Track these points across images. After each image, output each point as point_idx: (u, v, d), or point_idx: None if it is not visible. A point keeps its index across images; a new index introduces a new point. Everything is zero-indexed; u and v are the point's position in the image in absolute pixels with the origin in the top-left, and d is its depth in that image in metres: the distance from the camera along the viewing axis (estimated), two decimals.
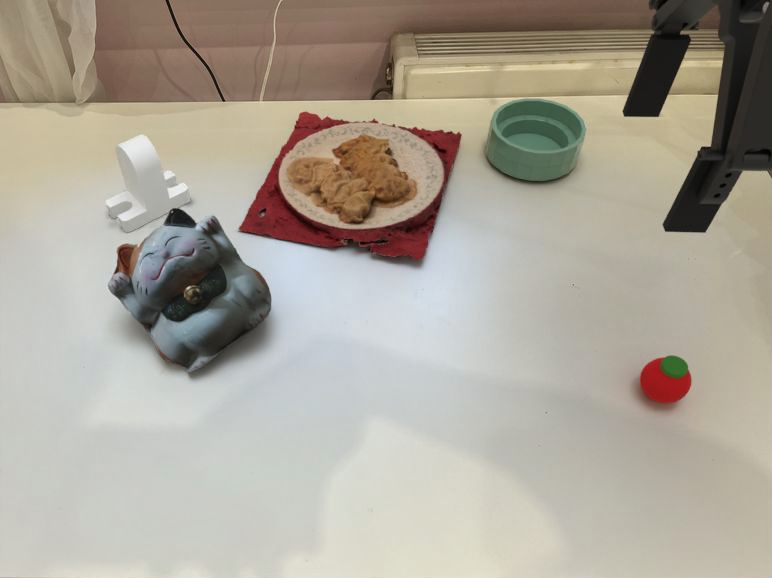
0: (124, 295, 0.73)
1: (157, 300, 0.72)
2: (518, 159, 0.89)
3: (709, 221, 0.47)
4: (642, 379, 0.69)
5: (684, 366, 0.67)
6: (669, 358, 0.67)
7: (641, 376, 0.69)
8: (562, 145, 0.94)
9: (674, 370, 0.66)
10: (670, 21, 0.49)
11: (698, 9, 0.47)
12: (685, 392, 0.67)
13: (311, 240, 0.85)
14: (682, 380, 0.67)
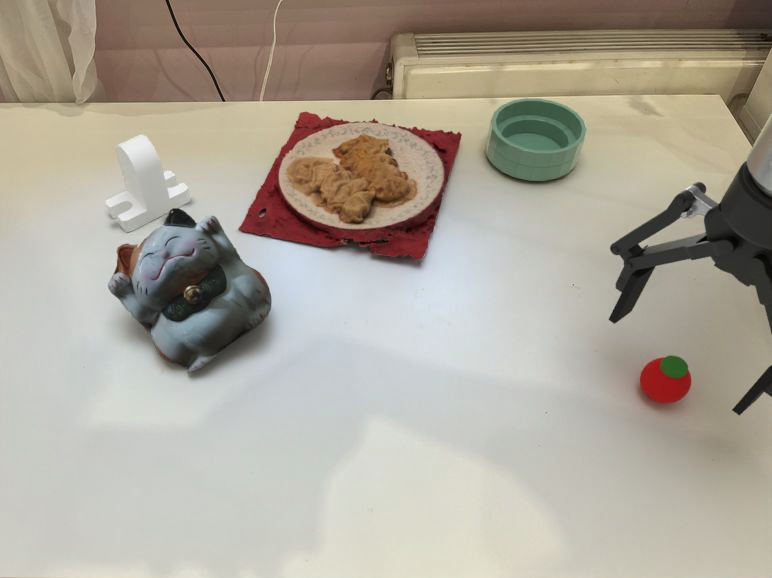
0: (124, 295, 0.73)
1: (157, 300, 0.72)
2: (518, 159, 0.89)
3: (761, 394, 0.62)
4: (642, 379, 0.69)
5: (684, 366, 0.67)
6: (669, 358, 0.67)
7: (641, 376, 0.69)
8: (562, 145, 0.94)
9: (674, 370, 0.66)
10: None
11: None
12: (685, 392, 0.67)
13: (311, 240, 0.85)
14: (682, 380, 0.67)
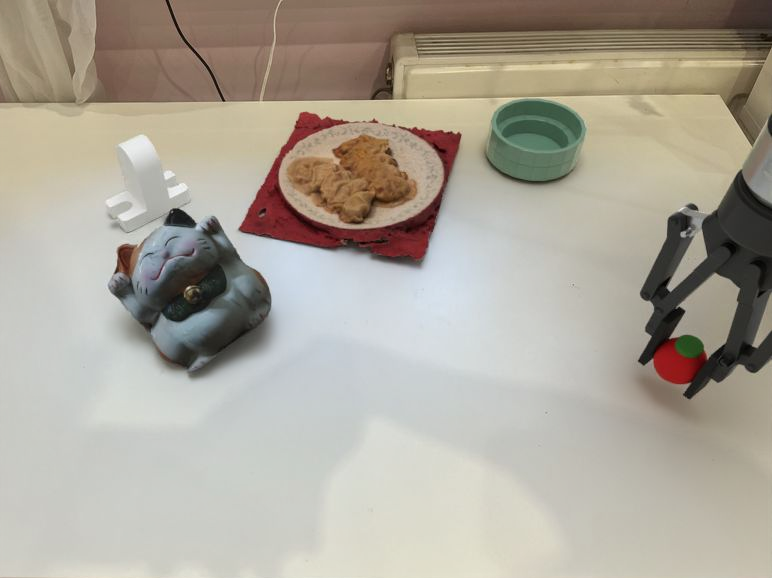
0: (124, 295, 0.73)
1: (157, 300, 0.72)
2: (518, 159, 0.89)
3: (709, 380, 0.66)
4: (656, 360, 0.66)
5: (700, 345, 0.64)
6: (684, 337, 0.65)
7: (655, 357, 0.67)
8: (562, 145, 0.94)
9: (689, 350, 0.64)
10: None
11: (696, 288, 0.61)
12: None
13: (311, 240, 0.85)
14: (698, 360, 0.64)
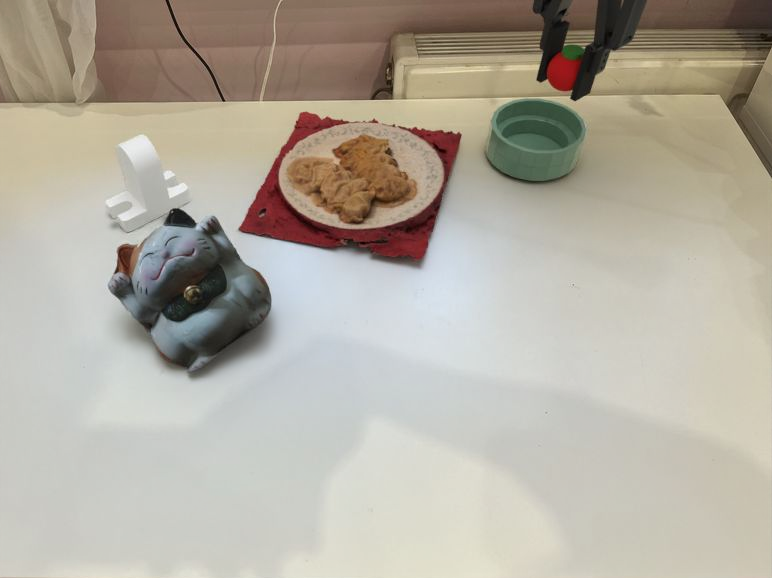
0: (124, 295, 0.73)
1: (157, 300, 0.72)
2: (518, 159, 0.89)
3: (591, 85, 0.81)
4: (548, 70, 0.81)
5: (581, 50, 0.79)
6: (569, 46, 0.79)
7: (547, 68, 0.81)
8: (562, 145, 0.94)
9: (572, 52, 0.78)
10: (559, 10, 0.77)
11: None
12: None
13: (311, 240, 0.85)
14: (579, 62, 0.79)
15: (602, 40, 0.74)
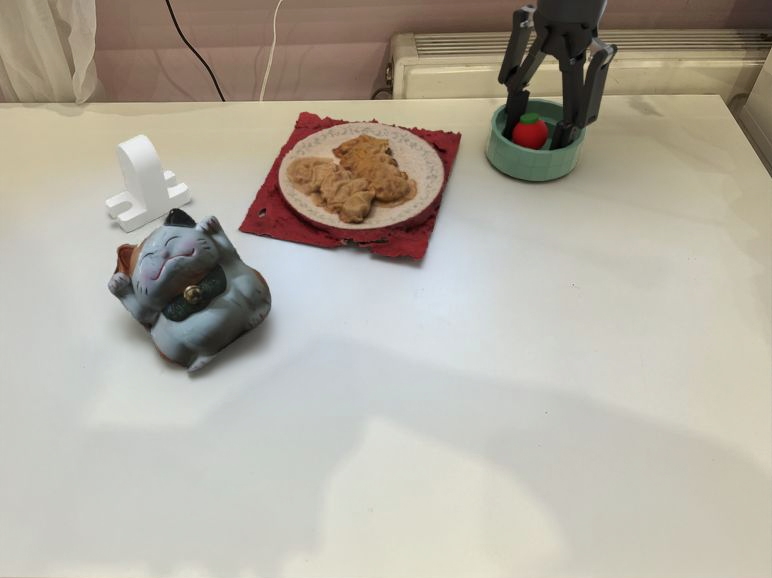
0: (124, 295, 0.73)
1: (157, 300, 0.72)
2: (518, 159, 0.89)
3: None
4: (512, 137, 0.93)
5: (536, 115, 0.91)
6: (525, 114, 0.92)
7: (512, 136, 0.94)
8: None
9: (528, 118, 0.91)
10: (521, 83, 0.89)
11: (533, 70, 0.87)
12: (541, 134, 0.91)
13: (311, 240, 0.85)
14: (536, 124, 0.91)
15: (570, 119, 0.85)
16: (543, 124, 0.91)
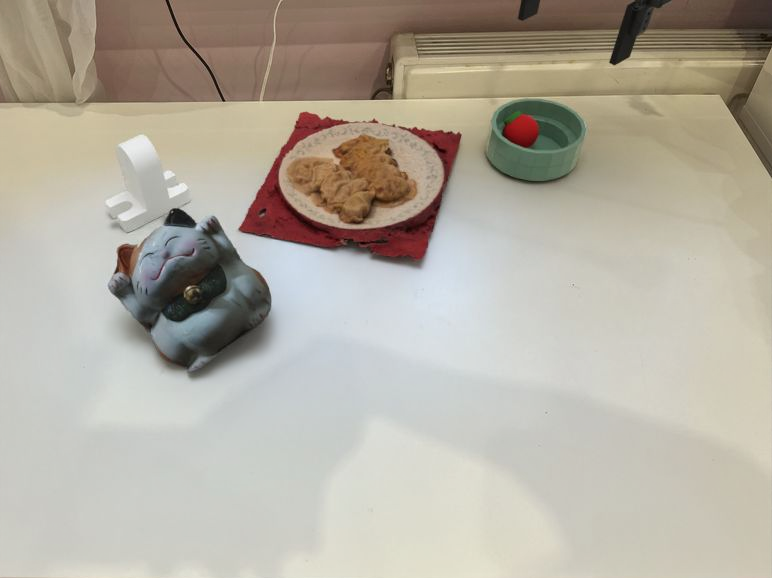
0: (124, 295, 0.73)
1: (157, 300, 0.72)
2: (518, 159, 0.89)
3: (631, 48, 0.77)
4: None
5: (516, 112, 0.92)
6: (508, 117, 0.94)
7: None
8: (562, 145, 0.94)
9: (509, 117, 0.92)
10: None
11: None
12: (527, 124, 0.91)
13: (311, 240, 0.85)
14: (518, 118, 0.92)
15: None
16: (526, 116, 0.92)
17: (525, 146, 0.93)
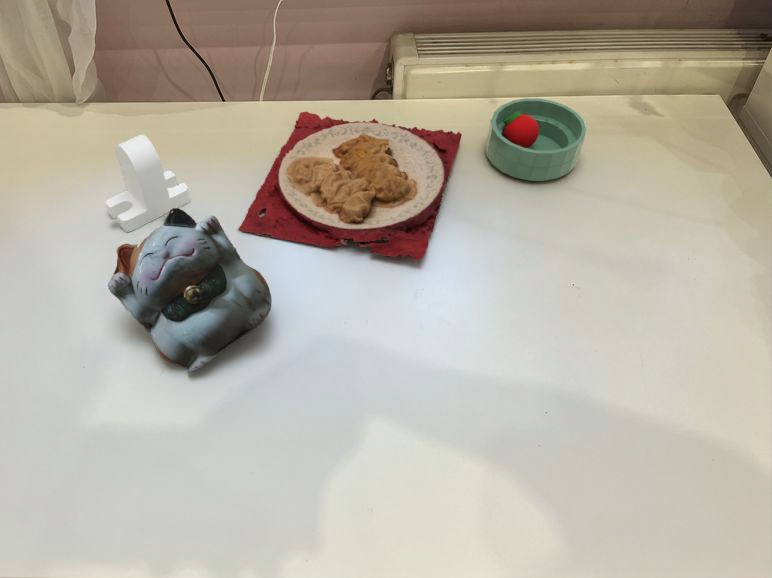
0: (124, 295, 0.73)
1: (157, 300, 0.72)
2: (518, 159, 0.89)
3: None
4: None
5: (516, 112, 0.92)
6: (508, 117, 0.94)
7: None
8: (562, 145, 0.94)
9: (509, 117, 0.92)
10: None
11: None
12: (527, 124, 0.91)
13: (311, 240, 0.85)
14: (518, 118, 0.92)
15: None
16: (526, 116, 0.92)
17: (525, 146, 0.93)
